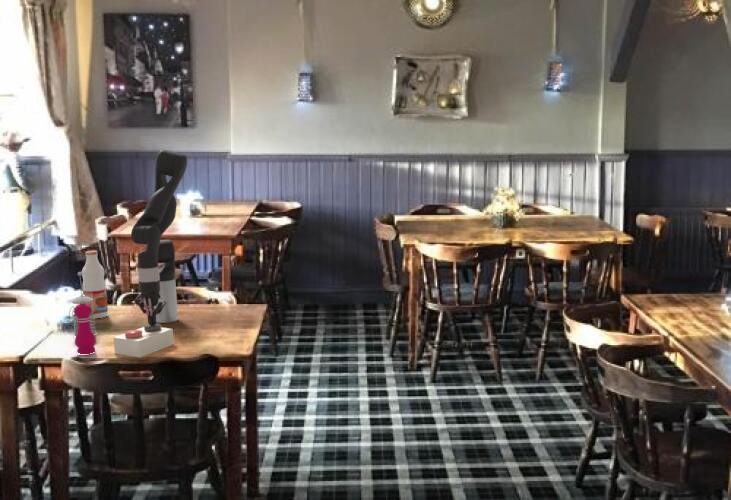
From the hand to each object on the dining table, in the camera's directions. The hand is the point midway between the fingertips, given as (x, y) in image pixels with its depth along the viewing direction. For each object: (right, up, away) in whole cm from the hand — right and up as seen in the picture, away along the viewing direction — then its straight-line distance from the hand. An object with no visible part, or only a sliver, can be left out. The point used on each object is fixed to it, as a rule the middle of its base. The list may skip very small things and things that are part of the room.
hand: (152, 324), depth 348 cm
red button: (-5, -7, -8) cm, 11 cm away
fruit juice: (-34, -1, +48) cm, 59 cm away
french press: (-31, -6, +19) cm, 37 cm away
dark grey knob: (0, -6, +1) cm, 6 cm away
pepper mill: (-22, -10, -6) cm, 25 cm away
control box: (-2, -9, -3) cm, 9 cm away
